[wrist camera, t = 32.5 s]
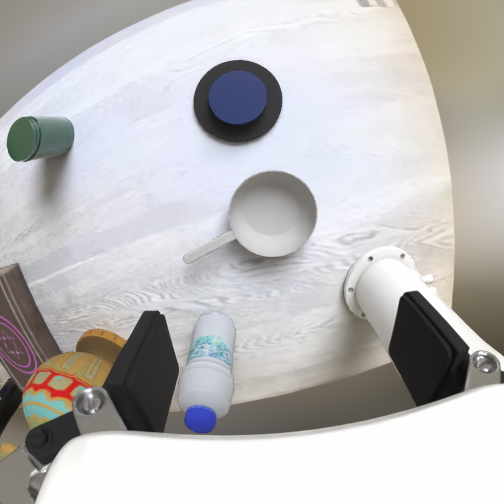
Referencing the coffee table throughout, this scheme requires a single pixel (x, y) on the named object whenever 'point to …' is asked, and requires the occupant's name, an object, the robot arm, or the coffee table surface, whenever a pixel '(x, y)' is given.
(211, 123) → the coaster
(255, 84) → the lid
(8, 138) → the jar
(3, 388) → the wine bottle
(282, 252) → the saucepan
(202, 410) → the bottle
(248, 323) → the coffee table surface
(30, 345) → the book
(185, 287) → the coffee table surface
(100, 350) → the vase
